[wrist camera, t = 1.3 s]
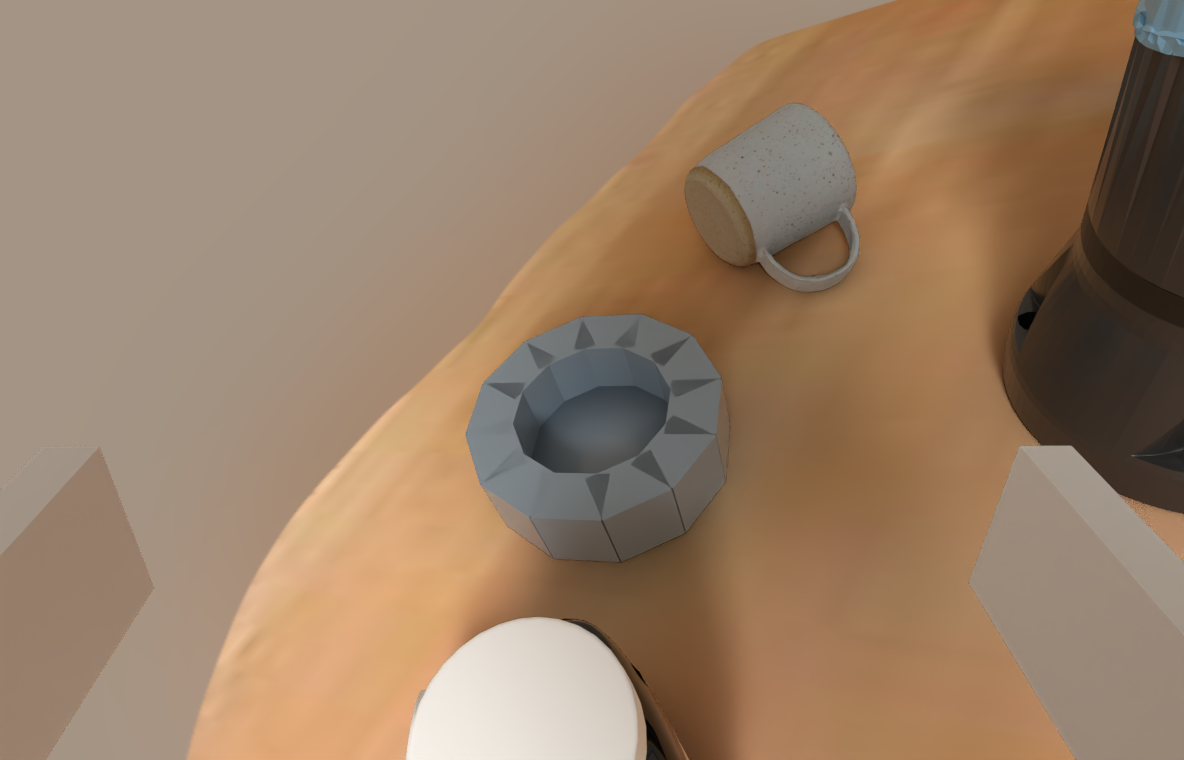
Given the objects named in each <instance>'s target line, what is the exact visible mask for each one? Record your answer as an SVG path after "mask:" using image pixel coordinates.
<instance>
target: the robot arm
mask: <svg viewBox="0 0 1184 760" xmlns="http://www.w3.org/2000/svg"><path fill="white" fill-rule="evenodd" d="M1133 26H1134V27H1135V39H1134V43H1133V46H1132V50H1131V53H1130V57H1129V61H1128V64H1127V68H1126V71H1125V75H1124V78H1123V82H1122V85H1121V89H1120V92H1119V96H1118V99H1117V103H1116V106H1115V110H1114V113H1113V117H1112V120H1111V124H1110V127H1109V131H1108V134H1107V138H1106V141H1105V145H1104V148H1103V152H1102V155H1101V158H1100V162H1099V165H1098V168H1097V172H1096V175H1095V178H1094V181H1093V185H1092V188H1091V191H1090V196H1089V200H1088V203H1087V206H1086V210H1085V213H1084V217H1083V220H1082V223H1081V226H1080V227H1079V228H1078V230H1077V231H1076V232H1075V233H1074V235H1073V236H1072V237H1071V238H1070V239H1069V241H1068V242H1067V243H1066V244H1065V246H1064V247H1063V248H1062V249H1061V250H1060V252H1059V253H1058V254H1057V255H1056V257H1055V258H1054V259H1053V260H1052V261H1051V263H1050V264H1049V265H1048V266H1047V267H1046V269H1045V270H1044V271H1043V272H1042V274H1041V275H1040V276H1039V277H1038V278H1037V280H1036V281H1035V282H1034V283H1033V285H1032V286H1031V287H1030V288H1029V289H1028V291H1027V292H1026V294H1025V295H1024V296H1023V298H1022V300H1021V301H1020V303H1019V305H1018V307H1017V309H1016V311H1015V313H1014V316H1013V318H1012V321H1011V325H1010V329H1009V333H1008V337H1007V341H1006V346H1005V350H1004V355H1003V377H1004V383H1005V387H1006V391H1007V393H1008V396H1009V399H1010V401H1011V403H1012V405H1013V407H1014V409H1015V411H1016V413H1017V414H1018V416H1019V418H1020V419H1021V421H1022V422H1023V423H1024V425H1025V426H1026V427H1027V429H1028V430H1029V431H1030V432H1031V433H1032V435H1033V436H1034V437H1035V438H1036V439H1037V440H1038V441H1039V442H1040V443H1041V444H1042V445H1043V446H1019V449H1018V452H1017V454H1016V457H1015V460H1014V462H1013V465H1012V468H1011V470H1010V473H1009V476H1008V478H1007V481H1006V484H1005V487H1004V489H1003V492H1002V495H1001V497H1000V500H999V503H998V505H997V508H996V511H995V513H994V516H993V519H992V521H991V524H990V527H989V530H988V532H987V535H986V538H985V540H984V543H983V546H982V548H981V551H980V554H979V556H978V559H977V562H976V564H975V567H974V570H973V573H972V575H971V578H970V581H969V584H970V586H971V588H972V589H973V591H974V593H975V594H976V596H977V598H978V599H979V601H980V603H981V604H982V606H983V608H984V609H985V611H986V613H987V614H988V616H989V618H990V619H991V621H992V622H993V624H994V626H995V627H996V629H997V631H998V632H999V634H1000V636H1001V637H1002V639H1003V641H1004V642H1005V644H1006V646H1007V647H1008V649H1009V651H1010V652H1011V654H1012V656H1013V657H1014V659H1015V661H1016V662H1017V664H1018V665H1019V667H1020V669H1021V670H1022V672H1023V674H1024V675H1025V677H1026V679H1027V680H1028V682H1029V684H1030V685H1031V687H1032V689H1033V690H1034V692H1035V694H1036V695H1037V697H1038V699H1039V700H1040V702H1041V704H1042V705H1043V707H1044V708H1045V710H1046V712H1047V713H1048V715H1049V717H1050V718H1051V720H1052V722H1053V723H1054V725H1055V727H1056V728H1057V730H1058V732H1059V733H1060V735H1061V737H1062V738H1063V740H1064V742H1065V743H1066V745H1067V746H1068V748H1069V750H1070V751H1071V753H1072V755H1073V756H1074V758H1075V760H1184V562H1183V561H1182V560H1181V559H1180V558H1179V557H1178V556H1177V555H1176V554H1175V553H1174V552H1173V551H1172V550H1171V549H1170V547H1169V546H1168V545H1167V544H1166V543H1165V542H1164V541H1163V540H1162V539H1161V538H1160V537H1159V536H1158V535H1157V534H1156V533H1155V532H1154V531H1153V530H1152V529H1151V528H1150V527H1149V526H1148V525H1147V524H1146V523H1145V522H1144V520H1143V519H1142V518H1141V517H1140V516H1139V515H1138V514H1137V513H1136V512H1135V511H1134V510H1133V509H1132V508H1131V507H1130V506H1129V505H1128V504H1127V503H1126V502H1125V501H1124V500H1123V499H1122V498H1121V497H1120V496H1119V495H1118V494H1121V495H1123V496H1125V497H1128V498H1131V499H1134V500H1136V501H1139V502H1142V503H1145V504H1148V505H1151V506H1155V507H1158V508H1162V509H1166V510H1169V511H1174V512H1178V513H1183V514H1184V0H1140V1H1139V3H1138V5H1137V8H1136V11H1135V15H1134V20H1133ZM153 589H154V586H153V583H152V581H151V578H150V575H149V573H148V570H147V568H146V565H145V562H144V560H143V557H142V555H141V552H140V550H139V547H138V544H137V542H136V539H135V537H134V534H133V532H132V529H131V527H130V524H129V522H128V519H127V516H126V514H125V511H124V508H123V506H122V503H121V501H120V498H119V496H118V493H117V490H116V488H115V485H114V483H113V480H112V477H111V475H110V472H109V470H108V467H107V464H106V462H105V460H104V457H103V454H102V452H101V449H100V447H43V448H42V449H41V450H40V451H39V452H38V453H37V454H36V455H35V456H34V457H33V458H32V459H31V460H30V461H29V462H28V463H27V464H26V465H25V466H24V467H23V468H22V469H21V470H20V471H19V472H18V473H17V474H16V475H15V476H14V477H13V478H12V479H11V480H10V481H9V482H7V483H6V484H5V486H3V488H1V489H0V760H46V759H47V757H48V756H49V754H50V752H51V751H52V749H53V747H54V746H55V744H56V743H57V741H58V739H59V738H60V736H61V735H62V733H63V732H64V730H65V728H66V727H67V725H68V724H69V722H70V721H71V719H72V717H73V716H74V714H75V713H76V711H77V710H78V708H79V706H80V705H81V703H82V702H83V700H84V698H85V697H86V695H87V694H88V692H89V690H90V689H91V687H92V686H93V684H94V683H95V681H96V679H97V678H98V676H99V675H100V673H101V672H102V670H103V668H104V667H105V665H106V663H107V662H108V660H109V659H110V657H111V656H112V654H113V653H114V651H115V649H116V648H117V646H118V644H119V643H120V641H121V640H122V638H123V637H124V635H125V634H126V632H127V630H128V629H129V627H130V626H131V624H132V622H133V621H134V619H135V618H136V616H137V615H138V613H139V611H140V610H141V608H142V607H143V605H144V603H145V602H146V600H147V599H148V597H149V595H150V594H151V592H152V591H153Z"/></svg>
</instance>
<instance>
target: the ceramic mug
mask: <svg viewBox="0 0 1184 760" xmlns="http://www.w3.org/2000/svg"><path fill="white" fill-rule="evenodd" d="M855 196H856V178H855V172H854V168H853V165H852V162H851V160H850V157H849V153H848V152H847V150H846V148H845V146H844V144H843V142H842V140H841V139H840V137H839V135H838V134H837V133H836V132H835V130H834V129H833V128H832V126H831V125H830V124H829V123H828V122H827V120H826V119H825V118H824V117H823V116H821V115H820V114H819V113H818V112H817V111H814V110H813V109H812V108H810V107H808V106H806V105H803V104H800V103H789V104H787V105H784V106H782V107H781V108H779V109H778V110H776V111H775V112H773V113H772V114H770V115H769V116H767V117H766V118H764V119H763V120H761V121H759V122H758V123H756V124H755V125H753V126H752V127H750V128H749V129H747V130H746V131H744V132H743V133H741V134H740V135H738V136H737V137H735V138H734V139H732V140H731V141H729V142H728V143H726V144H725V145H723V146H721V147H720V148H718V149H716V150H715V151H713V152H712V153H710V154H709V155H707V156H706V157H705V158H704V159H702V160H701V161H700V162H699V163H698V164H697V165H696V166H695V167H694V168H693V169H692V170H691V171H690V173H689V174H688V176H687V178H686V182H685V199H686V203H687V207H688V210H689V213H690V216H691V218H692V220H693V222H694V224H695V226H696V228H697V230H698V232H699V233H700V235H701V237H702V238H703V240H704V241H705V242H706V244H707V245H708V246H709V247H710V248H711V249H712V251H713V252H714V253H715V254H716V255H717V256H718V257H720V258H721V259H722V260H724V261H726V262H727V263H729V264H732V265H735V266H740V267H743V266H748V265H751V264H754V263H757V262H760V263H761V265H762V266H763V268H764V269H765V271H766V272H767V273H768V274H769V275H770V276H771V277H772V278H774V279H775V280H777V281H778V282H779V283H780V284H782V285H784V286H785V287H787V288H789V289H792V290H795V291H800V292H816V291H821V290H825V289H827V288H830V287H832V286H834V285H836V284H837V283H839V282H840V281H841V280H843V279H844V278H845V277H846V276H847V275H848V273H849V272H850V271H851V269H852V268H853V266H854V264H855V262H856V260H857V258H858V256H859V250H860V236H859V233H858V229H857V226H856V223H855V221H854V219H853V217H852V215H851V213H850V211H849V210H850V209H851V208H852V206H853V204H854V201H855ZM834 221H837V222H838V223H839V225H840V226H841V228H842V230H843V232H844V234H845V236H846V239H847V242H848V246H849V258H848V261H847V262H846V263H845V264H844V266H842V267H841V268H840V269H838V270H836V271H834V272H832V273H829V274H826V275H814V276H812V277H808V276H798V275H796V274H794V273H792V272H790V271H787V270H786V269H785V268H784V267H783V266H781V265H780V264H779V263H778V262H777V261H776V260H774V257H773V256H772V255H774V254H776V253H777V252H779V251H781V250H783V249H784V248H786V247H788V246H789V245H791V244H793V243H795V242H797V241H799V240H801V239H803V238H805V237H807V236H809V235H810V234H812V233H814V232H816V231H818V230H820V229H821V228H823V227H825V226H827V225H828V224H830V223H832V222H834Z"/></svg>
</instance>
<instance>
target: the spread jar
mask: <svg viewBox="0 0 1184 760" xmlns="http://www.w3.org/2000/svg"><path fill="white" fill-rule="evenodd" d="M406 760H689V758H688V756H687V754H686V753H685V751H684V749H683V747H682V745H681V743H680V742H679V740H678V738H677V735H676V733H675V730H674V728H673V726H672V725H671V723H670V721H669V720H668V718H667V717H666V715H665V713H664V712H663V710H662V708H661V707H660V705H659V703H658V702H657V700H656V698H655V697H654V695H653V693H652V692H651V690H650V689H649V687H648V686H647V684H646V683H645V681H644V680H643V678H642V676H641V674H640V672H639V671H638V670H637V669H636V668H635V667H634V666H633V664H632V663H631V662H630V661H629V660H628V658H627V657H626V656H625V655H624V654H623V652H622V651H621V650H620V649H619V648H618V646H617V645H616V644H615V643H614V642H613V641H612V640H611V639H610V638H609V637H608V636H607V635H606V634H605V633H604V632H602V631H601V630H600V629H599V628H597V627H596V626H595V625H593V624H591V623H588V622H586V621H584V620H578V619H555V618H546V617H530V618H519V619H515V620H512V621H508V622H505V623H501V624H498V625H496V626H494V627H492V628H490V629H488V630H486V631H483V632H481V633H479V634H478V635H476V636H475V637H474V638H472V639H471V640H469V641H468V642H467V643H465V644H464V645H462V646H461V647H460V648H459V649H458V650H457V651H456V652H455V653H454V654H453V655H452V656H451V657H450V658H449V659H448V660H447V661H446V662H445V663H444V664H443V665H442V667H441V668H440V669H439V671H438V672H437V674H436V675H435V676H434V678H433V679H432V680H431V682H430V683H429V685H428V687H427V689H426V690H422V691H420V693H419V695H418V698H417V701H416V704H415V708H414V712H413V717H412V722H411V728H410V733H409V740H408V747H407V754H406Z"/></svg>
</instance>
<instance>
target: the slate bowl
mask: <svg viewBox="0 0 1184 760" xmlns="http://www.w3.org/2000/svg"><path fill="white" fill-rule="evenodd" d="M729 437H730V422H729V417H728V411H727V405H726V400H725V394H724V389H723V383H722V378H721V376H720V375H719V373H718V372H717V370H716V369H715V367H714V366H713V364H712V363H711V361H710V360H709V358H708V357H707V355H706V354H705V352H704V351H703V350H702V348H701V347H700V345H699V344H698V342H697V341H696V339H695V338H694V336H692V334H689V333H687V332H684V331H682V330H679V329H677V328H675V327H672V326H670V325H667V324H665V323H662V322H660V321H658V320H655V319H653V318H650V317H648V316H645V315H643V314H642V315H641V314H630V315H608V316H586V317H582V318H581V317H580V318H578V319H575V320H573V321H571V322H568V323H566V324H564V325H561V326H559V327H557V328H554V329H552V330H550V331H548V332H545V333H543V334H541V335H538V336H536V337H534V338H531V339H529V340H527V341H526V342H524V343H523V344H522V345H521V346H520V347H519V348H518V349H517V350H516V351H515V352H514V353H513V354H512V355H511V356H510V357H509V358H508V359H507V360H506V361H505V362H504V363H503V364H502V365H501V366H500V367H499V368H497V369H496V370H495V371H494V372H493V373H492V374H491V375H490V376H489V377H488V378H487V379H486V380H485V381H484V383H483V384H482V387H481V390H480V393H479V396H478V399H477V402H476V405H475V408H474V410H473V413H472V416H471V419H470V422H469V425H468V428H467V431H466V438H467V442H468V445H469V448H470V452H471V455H472V459H473V462H474V465H475V469H476V472H477V475H478V479H479V482H480V485H481V486H482V488H483V489H484V491H485V492H486V494H487V495H488V497H489V499H490V500H491V502H492V503H493V505H494V506H495V508H496V510H497V511H498V513H499V514H500V516H501V517H502V519H503V520H504V522H505V524H506V525H507V526H508V527H509V528H511V529H512V530H514V531H515V532H516V533H518V534H519V535H521V536H522V537H523V538H525V539H526V540H528V541H529V542H531V543H532V544H533V545H535V546H536V547H538V548H539V549H540V550H542V551H543V552H545V553H546V554H548V555H549V556H550V557H552V558H554V559H567V560H585V561H604V562H620V560H621V562H623V561H625V560H627V559H630V558H632V557H634V556H636V555H638V554H641V553H643V552H645V551H647V550H649V549H652V548H654V547H656V546H658V545H661V544H663V543H665V542H667V541H669V540H672V539H674V538H676V537H678V536H681V535H683V534H685V532H687V531H688V530H689V528H690V527H691V526H692V525H693V523H694V522H695V521H696V519H697V518H698V517H699V516H700V514H701V513H702V512H703V510H704V509H705V508H706V506H707V505H708V504H709V503H710V501H711V500H712V499H713V497H714V496H715V495H716V494H717V492H718V491H719V490H720V488H721V487H722V486H723V485H724V483H725V481H726V474H727V462H728V450H729ZM684 531H685V532H684Z"/></svg>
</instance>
